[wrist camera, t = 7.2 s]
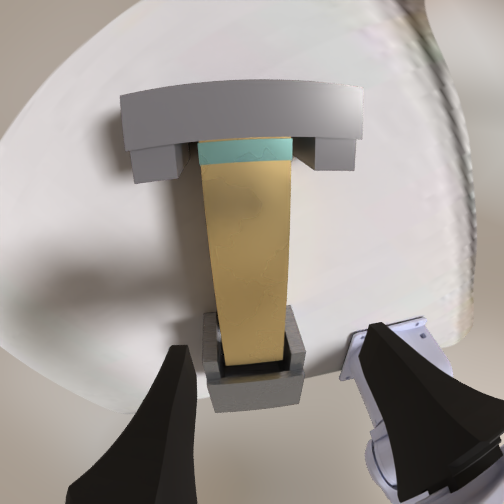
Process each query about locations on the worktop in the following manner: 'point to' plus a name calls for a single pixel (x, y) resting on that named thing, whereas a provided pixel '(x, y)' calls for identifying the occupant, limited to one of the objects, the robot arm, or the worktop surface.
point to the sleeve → (253, 372)
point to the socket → (241, 121)
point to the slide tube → (248, 241)
